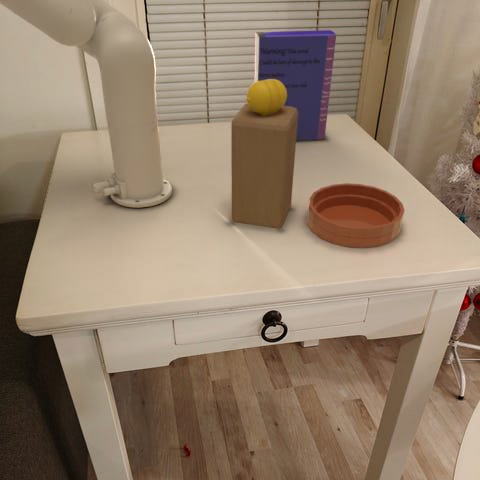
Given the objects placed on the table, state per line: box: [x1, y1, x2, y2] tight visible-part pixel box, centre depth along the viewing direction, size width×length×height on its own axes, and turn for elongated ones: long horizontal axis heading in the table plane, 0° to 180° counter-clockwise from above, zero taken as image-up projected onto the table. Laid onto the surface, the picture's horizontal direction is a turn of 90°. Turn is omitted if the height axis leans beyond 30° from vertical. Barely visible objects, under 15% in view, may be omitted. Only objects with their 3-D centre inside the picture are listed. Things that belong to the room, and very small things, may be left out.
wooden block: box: [230, 102, 298, 229], centre depth 99 cm, size 10×10×20 cm
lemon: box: [245, 79, 287, 116], centre depth 91 cm, size 8×5×5 cm
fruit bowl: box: [306, 182, 405, 249], centre depth 101 cm, size 17×17×4 cm
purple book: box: [253, 29, 337, 142], centre depth 128 cm, size 17×5×24 cm, turn 98°
